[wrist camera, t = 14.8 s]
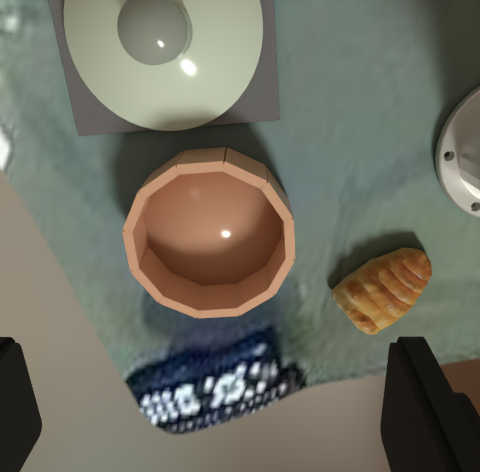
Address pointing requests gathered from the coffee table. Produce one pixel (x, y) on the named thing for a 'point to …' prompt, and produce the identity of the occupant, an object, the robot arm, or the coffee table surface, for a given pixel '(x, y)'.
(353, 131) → the coffee table surface
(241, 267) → the bowl
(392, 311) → the pastry
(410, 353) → the robot arm
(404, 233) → the coffee table surface
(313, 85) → the coffee table surface
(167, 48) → the lid
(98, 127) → the mat
